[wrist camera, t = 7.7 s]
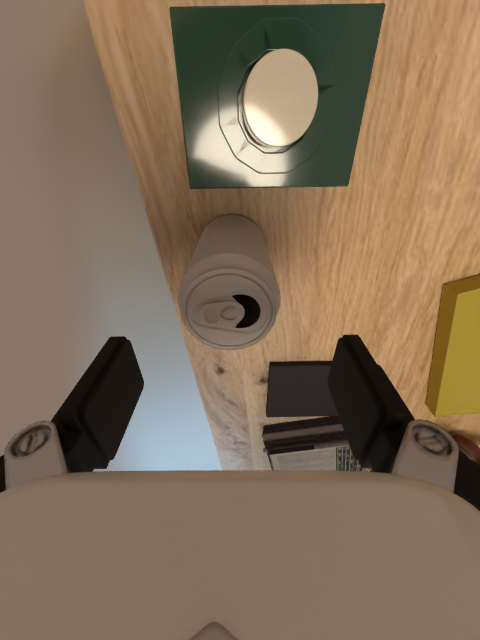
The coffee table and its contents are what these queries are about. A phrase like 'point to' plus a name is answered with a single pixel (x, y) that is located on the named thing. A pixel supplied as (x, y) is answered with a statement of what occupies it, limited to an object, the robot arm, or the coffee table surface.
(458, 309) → the flat olive board
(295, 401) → the coaster
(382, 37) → the coffee table surface
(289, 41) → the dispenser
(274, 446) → the radio
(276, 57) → the cylinder
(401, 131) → the coffee table surface
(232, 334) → the beverage can
